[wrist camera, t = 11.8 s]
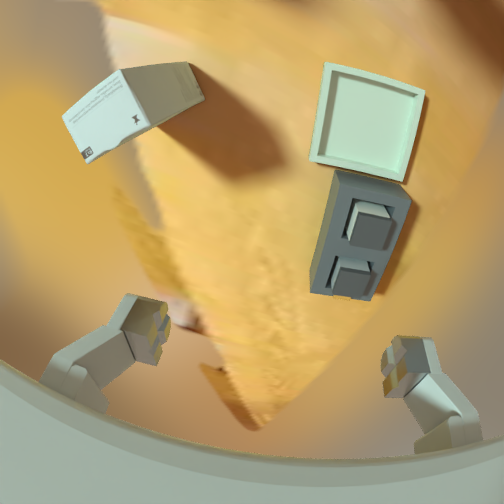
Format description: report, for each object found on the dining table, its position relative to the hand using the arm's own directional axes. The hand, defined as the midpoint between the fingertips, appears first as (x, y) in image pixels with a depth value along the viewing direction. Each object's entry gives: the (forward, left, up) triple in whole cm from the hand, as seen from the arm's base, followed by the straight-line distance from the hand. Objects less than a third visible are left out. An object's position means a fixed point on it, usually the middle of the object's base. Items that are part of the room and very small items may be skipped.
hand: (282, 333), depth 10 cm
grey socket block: (+11, +10, -29) cm, 32 cm away
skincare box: (-4, -16, -29) cm, 33 cm away
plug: (+7, +10, -28) cm, 30 cm away
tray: (-4, +8, -29) cm, 30 cm away
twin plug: (+15, +10, -28) cm, 33 cm away
